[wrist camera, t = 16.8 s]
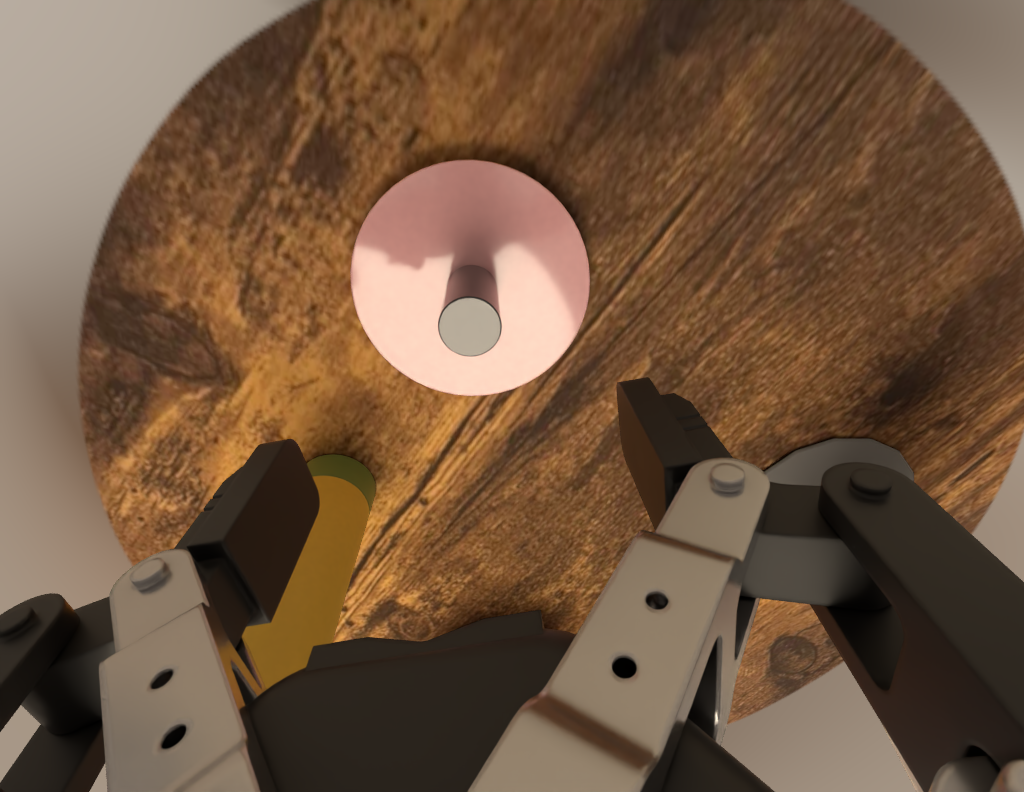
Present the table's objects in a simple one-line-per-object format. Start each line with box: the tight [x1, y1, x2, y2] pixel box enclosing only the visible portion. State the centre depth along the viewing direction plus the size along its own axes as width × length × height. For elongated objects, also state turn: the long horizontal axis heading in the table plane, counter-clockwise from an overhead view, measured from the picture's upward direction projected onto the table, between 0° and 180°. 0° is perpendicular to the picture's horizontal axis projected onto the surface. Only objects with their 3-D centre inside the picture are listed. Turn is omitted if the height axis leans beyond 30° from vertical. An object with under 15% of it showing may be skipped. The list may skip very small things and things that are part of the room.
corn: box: [242, 454, 376, 689], centre depth 23 cm, size 4×4×16 cm
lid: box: [351, 159, 590, 396], centre depth 22 cm, size 11×11×6 cm
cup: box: [764, 439, 923, 792], centre depth 23 cm, size 12×12×22 cm
